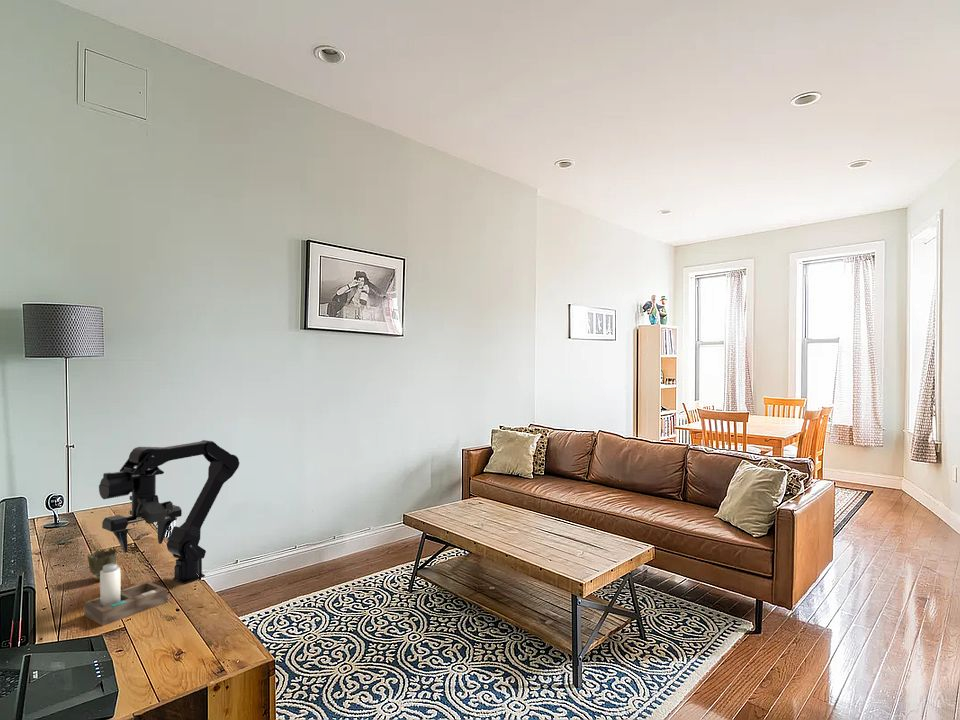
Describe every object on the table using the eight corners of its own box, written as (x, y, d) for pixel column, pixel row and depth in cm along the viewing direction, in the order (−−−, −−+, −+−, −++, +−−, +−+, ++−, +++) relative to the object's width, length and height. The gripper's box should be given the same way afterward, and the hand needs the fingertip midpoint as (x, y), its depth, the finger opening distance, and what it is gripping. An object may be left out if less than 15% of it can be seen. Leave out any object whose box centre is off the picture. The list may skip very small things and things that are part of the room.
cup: (83, 585, 162) (83, 557, 162) (93, 575, 169) (93, 549, 169) (112, 582, 164) (112, 555, 164) (121, 572, 171) (120, 547, 171)
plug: (108, 609, 146) (108, 562, 146) (124, 609, 146) (124, 562, 146) (96, 617, 142) (95, 568, 142) (112, 617, 142) (112, 568, 142)
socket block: (148, 593, 156) (148, 580, 156) (167, 601, 151) (167, 588, 151) (84, 615, 143) (84, 601, 143) (102, 625, 138) (102, 611, 137)
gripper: (121, 502, 144) (120, 563, 143) (192, 489, 159) (191, 544, 159) (101, 497, 150) (100, 555, 150) (171, 485, 165) (171, 537, 165)
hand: (143, 547), depth 156 cm, fingers open, 9 cm apart
